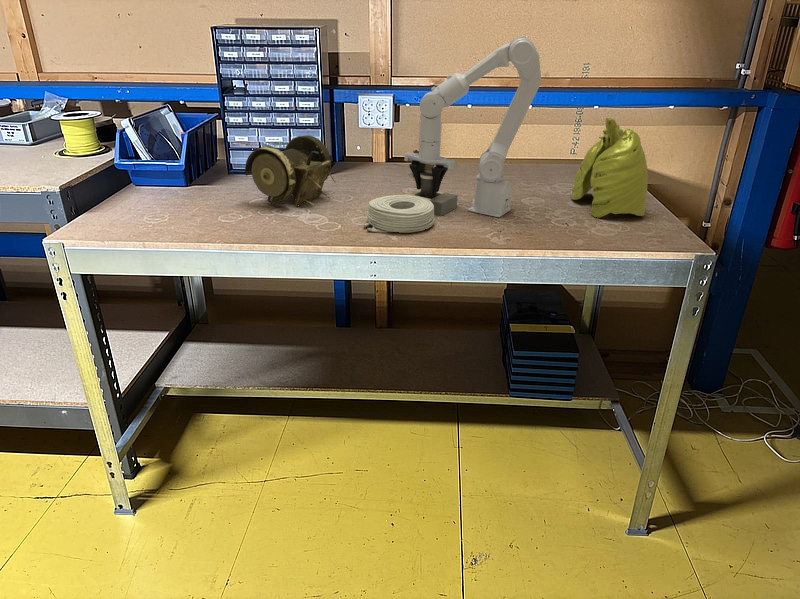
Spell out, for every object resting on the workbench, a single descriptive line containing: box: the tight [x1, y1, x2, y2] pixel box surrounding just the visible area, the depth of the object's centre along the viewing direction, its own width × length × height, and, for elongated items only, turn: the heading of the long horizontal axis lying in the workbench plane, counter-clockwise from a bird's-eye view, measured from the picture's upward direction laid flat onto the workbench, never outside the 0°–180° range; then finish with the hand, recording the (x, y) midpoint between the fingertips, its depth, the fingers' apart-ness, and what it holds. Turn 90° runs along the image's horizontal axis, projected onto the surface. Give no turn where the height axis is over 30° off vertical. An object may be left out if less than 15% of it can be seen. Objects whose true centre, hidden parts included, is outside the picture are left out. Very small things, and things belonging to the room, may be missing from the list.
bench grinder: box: [244, 135, 336, 207], centre depth 162 cm, size 20×22×20 cm
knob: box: [420, 170, 436, 199], centre depth 160 cm, size 5×5×7 cm
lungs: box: [571, 117, 649, 219], centre depth 161 cm, size 25×16×24 cm, turn 6°
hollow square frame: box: [404, 188, 459, 217], centre depth 162 cm, size 12×9×4 cm
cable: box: [363, 194, 435, 234], centre depth 150 cm, size 18×18×6 cm
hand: (427, 190), depth 161 cm, fingers closed on knob, 4 cm apart
